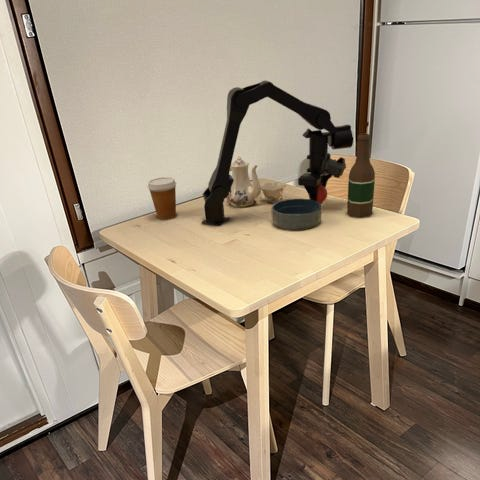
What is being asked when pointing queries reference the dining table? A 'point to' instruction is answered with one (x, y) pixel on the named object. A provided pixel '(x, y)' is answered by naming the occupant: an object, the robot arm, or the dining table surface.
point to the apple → (321, 194)
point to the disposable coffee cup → (163, 196)
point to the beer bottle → (361, 181)
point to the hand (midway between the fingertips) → (317, 200)
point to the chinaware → (250, 186)
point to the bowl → (296, 214)
